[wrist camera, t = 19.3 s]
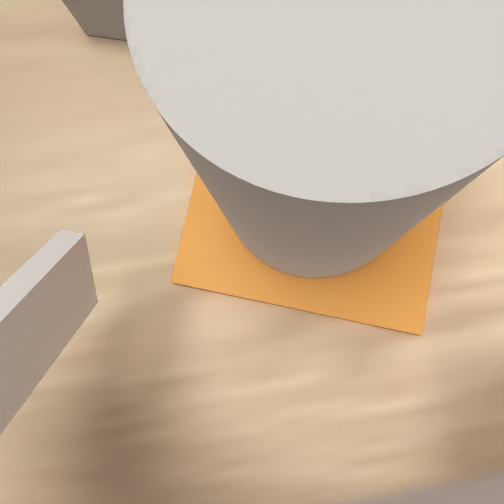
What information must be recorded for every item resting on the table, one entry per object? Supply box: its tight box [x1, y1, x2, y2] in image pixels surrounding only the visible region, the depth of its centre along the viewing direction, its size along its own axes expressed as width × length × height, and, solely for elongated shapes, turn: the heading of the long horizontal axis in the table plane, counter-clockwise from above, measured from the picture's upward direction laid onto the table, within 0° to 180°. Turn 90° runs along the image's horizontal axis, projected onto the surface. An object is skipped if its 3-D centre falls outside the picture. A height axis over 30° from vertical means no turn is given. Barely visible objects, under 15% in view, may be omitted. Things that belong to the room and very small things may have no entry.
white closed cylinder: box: [123, 0, 504, 278], centre depth 14 cm, size 8×8×12 cm
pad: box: [171, 173, 442, 335], centre depth 20 cm, size 11×11×1 cm
